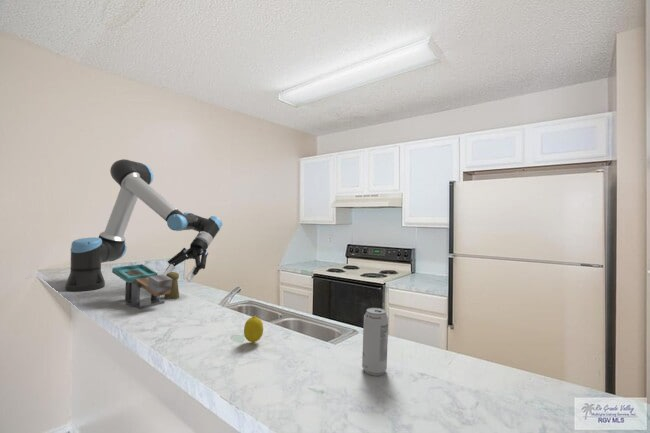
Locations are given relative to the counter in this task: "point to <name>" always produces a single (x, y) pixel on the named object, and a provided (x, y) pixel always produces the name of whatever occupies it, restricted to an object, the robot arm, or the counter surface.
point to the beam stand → (134, 297)
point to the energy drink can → (375, 341)
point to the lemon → (253, 329)
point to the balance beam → (145, 278)
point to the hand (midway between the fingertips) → (176, 278)
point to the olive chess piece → (173, 286)
